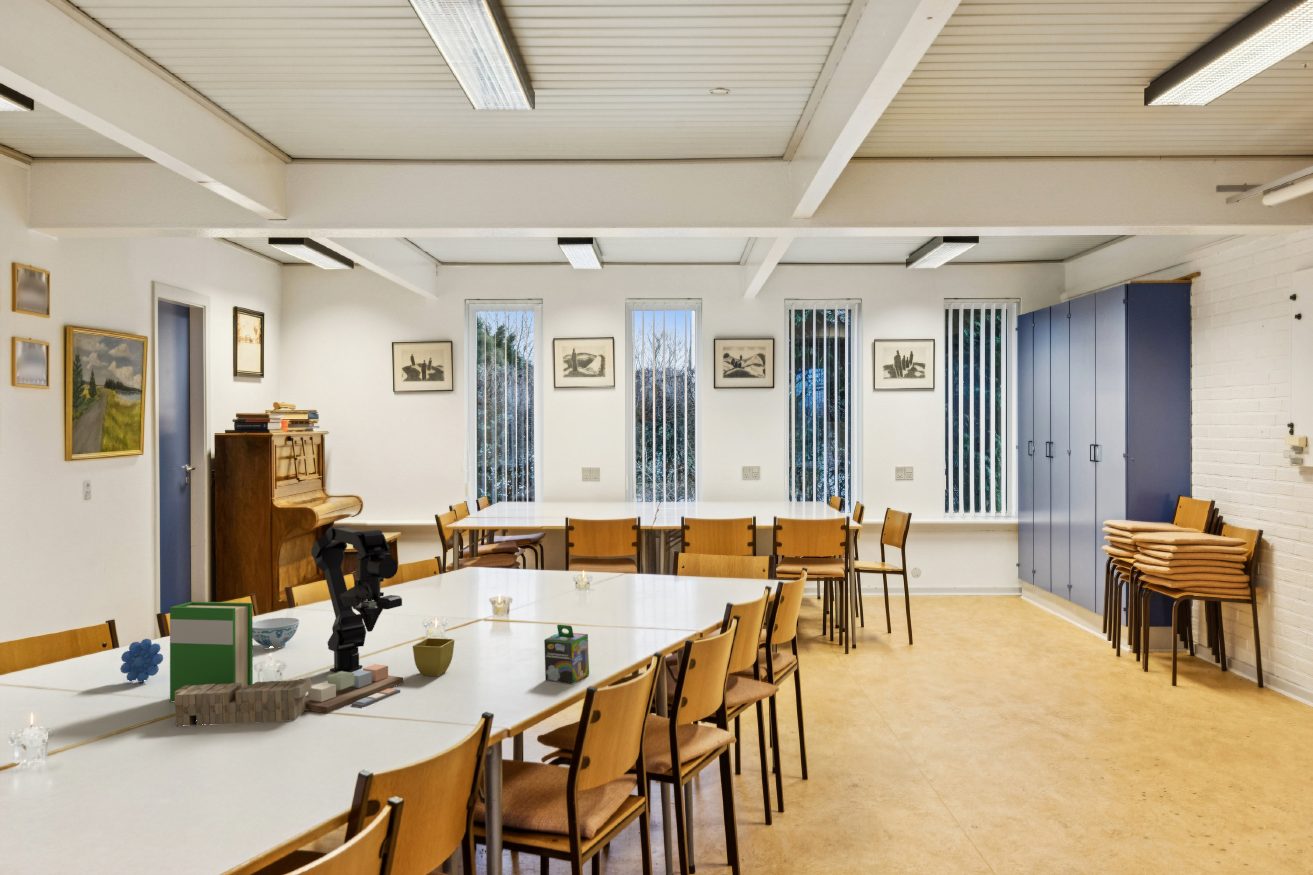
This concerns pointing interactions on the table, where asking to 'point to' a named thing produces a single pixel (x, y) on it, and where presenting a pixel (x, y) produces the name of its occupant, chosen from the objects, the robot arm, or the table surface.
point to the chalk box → (566, 656)
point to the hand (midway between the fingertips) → (369, 631)
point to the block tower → (241, 702)
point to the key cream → (322, 692)
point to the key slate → (362, 678)
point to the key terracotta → (377, 671)
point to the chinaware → (274, 631)
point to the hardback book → (210, 644)
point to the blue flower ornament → (141, 660)
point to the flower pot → (433, 656)
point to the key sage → (341, 679)
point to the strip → (375, 697)
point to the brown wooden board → (352, 695)
